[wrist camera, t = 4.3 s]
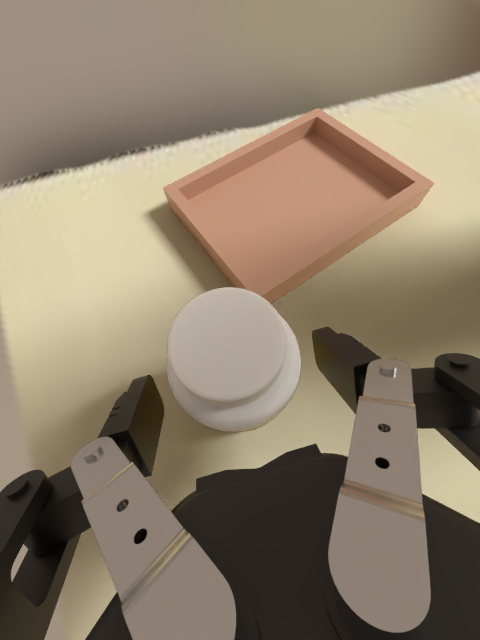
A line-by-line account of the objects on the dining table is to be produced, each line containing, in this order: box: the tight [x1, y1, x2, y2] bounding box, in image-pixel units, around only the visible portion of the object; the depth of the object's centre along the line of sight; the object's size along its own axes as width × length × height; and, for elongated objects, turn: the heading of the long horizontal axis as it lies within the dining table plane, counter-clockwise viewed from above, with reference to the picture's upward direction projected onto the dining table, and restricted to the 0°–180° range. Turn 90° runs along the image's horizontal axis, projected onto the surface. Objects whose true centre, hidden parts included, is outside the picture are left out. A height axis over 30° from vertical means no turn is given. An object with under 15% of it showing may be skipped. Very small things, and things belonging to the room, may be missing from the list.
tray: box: [163, 108, 434, 304], centre depth 23 cm, size 18×14×2 cm
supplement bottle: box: [167, 287, 301, 432], centre depth 13 cm, size 6×6×10 cm
